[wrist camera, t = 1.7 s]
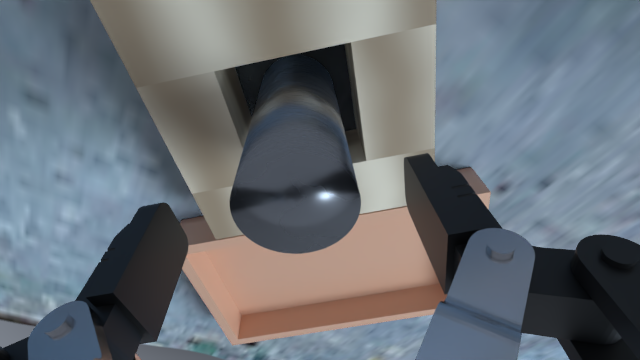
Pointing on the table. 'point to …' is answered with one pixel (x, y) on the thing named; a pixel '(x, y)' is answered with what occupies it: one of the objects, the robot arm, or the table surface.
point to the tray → (316, 277)
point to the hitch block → (268, 43)
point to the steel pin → (295, 163)
